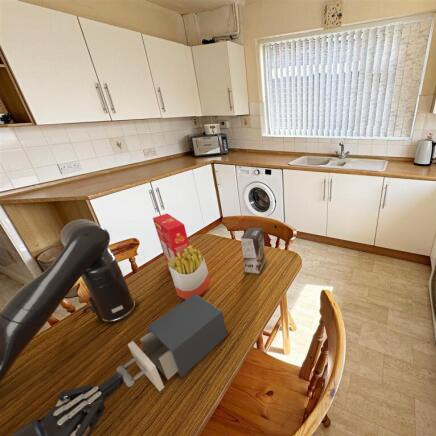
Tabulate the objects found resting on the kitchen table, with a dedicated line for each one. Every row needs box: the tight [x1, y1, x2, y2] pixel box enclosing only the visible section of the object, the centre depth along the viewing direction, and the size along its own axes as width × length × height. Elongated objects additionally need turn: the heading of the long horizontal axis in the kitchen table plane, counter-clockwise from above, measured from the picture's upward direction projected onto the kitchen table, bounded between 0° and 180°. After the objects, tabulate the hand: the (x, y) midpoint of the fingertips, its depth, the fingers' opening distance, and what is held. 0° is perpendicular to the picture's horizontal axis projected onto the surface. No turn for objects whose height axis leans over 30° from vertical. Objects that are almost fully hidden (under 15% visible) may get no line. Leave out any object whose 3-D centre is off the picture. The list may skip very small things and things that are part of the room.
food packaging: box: [152, 213, 190, 274], centre depth 90 cm, size 15×5×25 cm, turn 47°
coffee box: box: [240, 227, 267, 275], centre depth 97 cm, size 9×6×16 cm
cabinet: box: [146, 294, 228, 378], centre depth 66 cm, size 15×13×10 cm
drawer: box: [116, 332, 178, 392], centre depth 60 cm, size 18×11×8 cm, turn 144°
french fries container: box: [168, 244, 211, 301], centre depth 83 cm, size 5×11×18 cm, turn 148°
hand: (121, 377), depth 53 cm, fingers closed
